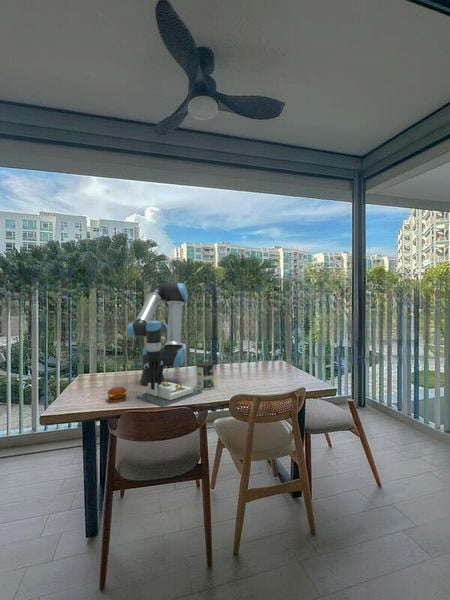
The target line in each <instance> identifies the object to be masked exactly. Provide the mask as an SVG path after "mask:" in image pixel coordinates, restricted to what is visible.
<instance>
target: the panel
mask: <svg viewBox="0 0 450 600" xmlns="http://www.w3.org/2000/svg"><path fill="white" fill-rule="evenodd" d="M175 385H180V384H178V383H174V382H168V384H166V387H163V385H162V384H159V385H158V388H157V390H158V395H157V396H158V397H161V398H165V399H168V400H173V399H176V398H179V397H181V396H184V395H187V394H190V393H193V388H194V387H189V386H186V385H182V388H180V391H177V388H175ZM146 393H148V394H152V389H151V383H148V386H147V388H146Z"/></svg>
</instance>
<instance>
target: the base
mask: <svg viewBox="0 0 450 600" xmlns="http://www.w3.org/2000/svg"><path fill="white" fill-rule="evenodd" d="M161 384H162V385H163V387H166V384H168V381H167V380H165V381H162V382H161ZM161 384H160V385H161ZM182 386H183V384H179V385H175V388H177V391H180V388H182ZM192 388H193V393H190V394H187V395H184V396H181V397H179V398H176V399H173V400H168V399H165V398H161V397H158V396H154V395H152V394H148V393H147V392H145V393H141V394H137V395H136V399H139V400H141V401H145V402H147V403H151V404H153V405H156V406H159V407H161V408H163V407H166V406H169V405H172V404H175V403H177V402H180V401H183V400H186V399H189V398H191V397H194V396H197V395H200V394H203V389H198V388H194V387H192Z"/></svg>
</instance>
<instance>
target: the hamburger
mask: <svg viewBox="0 0 450 600" xmlns="http://www.w3.org/2000/svg"><path fill="white" fill-rule="evenodd" d="M106 393H107V394H108V395H107V397H108V403H113V404H114V403H115V404H117V403H121V402H125V401H126V400H127V395H128V392H127V389H126V388H124V387H122V386H115V387H112V388H110V389H108V391H107V392H106Z"/></svg>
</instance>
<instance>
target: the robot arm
mask: <svg viewBox="0 0 450 600" xmlns="http://www.w3.org/2000/svg"><path fill="white" fill-rule="evenodd" d="M188 298H189V296H188V288H187V286H186V284H184V283H182V282H172V283H171V282H169V283H163V282H162V283H159V284H156V285H155V286H154V287H152V288H151V289H150V290H149V292H148V293H147V294H146V300H145V303H143V306H142V307H141V309H140V311H139V313H138V315H137V316H136V318H135V320H134V322H131V323H128V324H127V326H126V334H127V336H128V337H132V338H133V337H135V338H136V337H139V338H140V337H141V338H143V337H146V347H144V348H142V355H141V356H142V374H141V376H140V379H139V383H140V385H142V386H146V387H148V383H151V389H152V395H154V396H157V395H158V390H157V388H158V385H161V382H162V381H166V380H165V375H164V373H163V372H164V367H174V368H176V367H181V366H182V365H183V364H184V362H185V358H186V348H185V347H183V346H184V345H183V343H182V341H181V338H182V337H181V336H182V317H183V313H182V312H183V306H184V305H185V302H186V301H188ZM161 302H166V304H168V316H167V323H166V322H161V321H160V320H152V317H153V315H154V313H155V311H156V309H157V307H158V306H159V304H160V303H161ZM166 335H167V338H166V342H165V344H164V345H163V346H164V347H162V337H164V336H166Z"/></svg>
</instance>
